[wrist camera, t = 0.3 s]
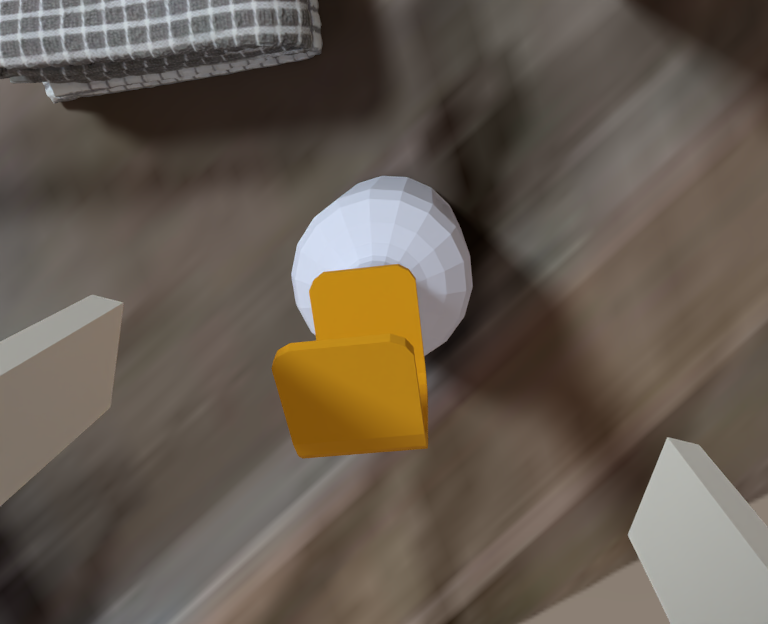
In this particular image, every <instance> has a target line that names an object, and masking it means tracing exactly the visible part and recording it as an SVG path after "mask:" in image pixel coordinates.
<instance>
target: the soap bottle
mask: <svg viewBox="0 0 768 624" xmlns="http://www.w3.org/2000/svg"><path fill="white" fill-rule="evenodd" d="M291 275H292V282H293V288H294V294H295V300H296V305H297V307H298V309H299V311H300V312H301V314H302V316H303V318H304V320H305V322H306V323H307V325H308V327H309V329H310V331H311V332H312V333H313V334H314V335H316V341H308V342H298V343H289V344H288V345H286V346H284V347H283V348H281V349H279V350H278V351H277V353H276V355H275V358H274V360H273V365H272V372H273V375H274V379H275V382H276V386H277V389H278V393H279V396H280V400H281V403H282V407H283V410H284V414H285V417H286V421H287V424H288V428H289V431H290V435H291V438H292V442H293V445H294V447H295V450H296V452H297V454H298V456H299V457H301V458H314V457H327V456H339V455H352V454H364V453H376V452H389V451H401V450H414V449H426V448H428V392H427V378H426V368H425V358H424V356H425V355H427V354H428V353H430V352H431V351H433V350H434V349H436V348H437V347H439V346H440V345H442V344H443V343H444V342H446V341H447V340H448V338H449V337H450V336H451V334H452V333H453V332H454V330H455V329H456V327H457V326H458V325H459V323H460V322H461V320H462V319H463V318H464V316H465V313H466V309H467V306H468V302H469V298H470V295H471V291H472V288H473V284H472V273H471V261H470V254H469V251H468V248H467V245H466V242H465V239H464V236H463V233H462V230H461V228H460V226H459V223H458V221H457V219H456V217H455V215H454V213H453V211H452V209H451V207H450V205H449V204H448V203H447V202H446V201H445V200H444V199H443V198H442V197H441V196H440V195H439V194H438V193H437V192H435V191H434V190H433V189H432V188H431V187H429V186H427V185H424V184H422V183H420V182H417V181H415V180H413V179H411V178H408V177H394V176H380V177H377V178H374V179H370V180H367V181H364V182H361V183H358V184H356V185H355V186H354V187H353V188H351V189H350V190H349V191H347V192H346V193H345V194H343V195H342V196H341V197H340V198H338V199H337V200H336V201H334V202H333V203H332V204H331V205H329V206H328V207H327V208H326V209H324V210H323V211H322V212H321V213H319V214H318V215H317V216H315V217H314V218H313V220H312V222H311V223H310V225H309V226H308V228H307V230H306V231H305V233H304V234H303V236H302V238H301V239H300V241H299V243H298V244H297V249H296V254H295V259H294V264H293V269H292V274H291Z"/></svg>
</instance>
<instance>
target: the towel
mask: <svg viewBox="0 0 768 624" xmlns="http://www.w3.org/2000/svg"><path fill="white" fill-rule="evenodd" d="M318 8H319V3H318V0H0V79H4V78H10V81H11V83H37V82H42V83H43V84H44V86H45V91H46V94H47V96H48V97H50V98H51V100H52V101H53V103H58V102H62V101H71V100H75V99H77V98H79V97H91V96H96V95H103V94H111V93H119V92H122V91H130V90H138V89H141V88H153V87H155V86H160V85H167V84H173V83H179V82H184V81H189V80H198V79H202V78H207V77H215V76H219V75H228V74H233V73H236V72H240V71H247V70H251V69H256V68H264V67H271V66H276V65H281V64H284V63H287V62H297V61H301V60H306V59H310V58H312V57H313V56H315V55H320V54H321V50H322V46H323V43H322V38H321V32H320V30H321V21H320V16H319V14H318Z"/></svg>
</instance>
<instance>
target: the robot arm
mask: <svg viewBox="0 0 768 624" xmlns="http://www.w3.org/2000/svg"><path fill="white" fill-rule="evenodd" d="M123 304H124V303H123V302H119V301H115V300H111V299H107V298H103V297H99V296H95V295H90V296H88V297H86V298H84V299H83V300H81V301H79V302H77V303H75V304H73V305H71V306H69V307H67V308H65V309H63V310H61V311H59V312H57V313H55V314H53V315H51V316H49V317H47V318H46V319H44V320H42V321H40V322H38V323H36V324H34V325H32V326H30V327H28V328H26V329H24V330H22V331H20V332H18V333H16V334H14V335H12V336H10V337H8V338H7V339H5V340H3V341H1V342H0V506H1V505H2V504H3V503H4V502H5V501H7V500H8V499H9V498H10V497H11V496H12V495H13V494H14V493H16V492H17V491H18V490H19V489H20V488H21V487H22V486H23V485H24V484H26V483H27V482H28V481H29V480H30V479H31V478H32V477H33V476H34V475H36V474H37V473H38V472H39V471H40V470H41V469H42V468H43V467H44V466H46V465H47V464H48V463H49V462H50V461H51V460H52V459H53V458H55V457H56V456H57V455H58V454H59V453H60V452H61V451H62V450H63V449H65V448H66V447H67V446H68V445H69V444H70V443H71V442H72V441H73V440H75V439H76V438H77V437H78V436H79V435H80V434H81V433H82V432H83V431H85V430H86V429H87V428H88V427H89V426H90V425H91V424H92V423H94V422H95V421H96V420H97V419H98V418H99V417H100V416H101V415H102V414H104V413H105V412H106V411H107V410H108V409H109V408H110V406H111V398H112V390H113V383H114V375H115V367H116V359H117V351H118V343H119V335H120V328H121V320H122V312H123ZM628 537H629V539H630V541H631V543H632V545H633V547H634V549H635V551H636V553H637V555H638V557H639V559H640V561H641V563H642V565H643V568H644V570H645V572H646V574H647V576H648V578H649V580H650V582H651V584H652V586H653V588H654V590H655V592H656V594H657V596H658V599H659V600H660V602H661V605H662V607H663V609H664V611H665V613H666V615H667V617H668V619H669V621H670V623H671V624H768V527H767V525H766V524H765V523H764V522H763V521H762V520H761V518H760V517H759V516H758V515H757V513H756V512H755V511H754V510H753V509H752V508H751V506H750V505H749V504H748V503H747V502H746V500H745V499H744V498H743V497H742V496H741V494H740V493H739V492H738V491H737V490H736V488H735V487H734V486H733V485H732V484H731V482H730V481H729V480H728V479H727V478H726V476H725V475H724V474H723V473H722V472H721V471H720V469H719V468H718V467H717V466H716V465H715V463H714V462H713V461H712V460H711V459H710V457H709V456H708V455H707V454H706V453H705V451H704V450H703V449H702V448H701V447H700V445H698V444H693V443H689V442H685V441H681V440H677V439H673V438H669V437H667V439H666V442H665V444H664V447H663V449H662V452H661V454H660V456H659V459H658V461H657V464H656V466H655V469H654V471H653V474H652V476H651V479H650V481H649V484H648V486H647V489H646V491H645V494H644V496H643V499H642V501H641V503H640V506H639V508H638V511H637V513H636V516H635V518H634V521H633V523H632V526H631V528H630V531H629V533H628Z"/></svg>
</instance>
